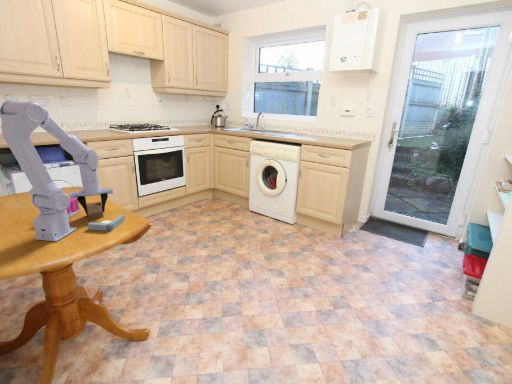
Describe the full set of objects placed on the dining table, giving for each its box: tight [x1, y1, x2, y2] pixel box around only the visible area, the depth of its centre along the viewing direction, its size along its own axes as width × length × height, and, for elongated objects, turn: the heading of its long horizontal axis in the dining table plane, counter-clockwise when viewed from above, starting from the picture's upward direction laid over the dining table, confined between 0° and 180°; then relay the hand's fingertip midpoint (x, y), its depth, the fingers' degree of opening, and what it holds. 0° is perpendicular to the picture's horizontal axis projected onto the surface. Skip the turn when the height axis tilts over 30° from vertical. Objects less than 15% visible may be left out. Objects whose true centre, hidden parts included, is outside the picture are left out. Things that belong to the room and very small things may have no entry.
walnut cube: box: [86, 200, 104, 220], centre depth 110 cm, size 5×5×5 cm
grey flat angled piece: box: [87, 214, 126, 232], centre depth 104 cm, size 10×8×2 cm
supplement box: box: [66, 197, 81, 220], centre depth 108 cm, size 6×6×12 cm
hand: (95, 212), depth 111 cm, fingers closed on walnut cube, 5 cm apart
